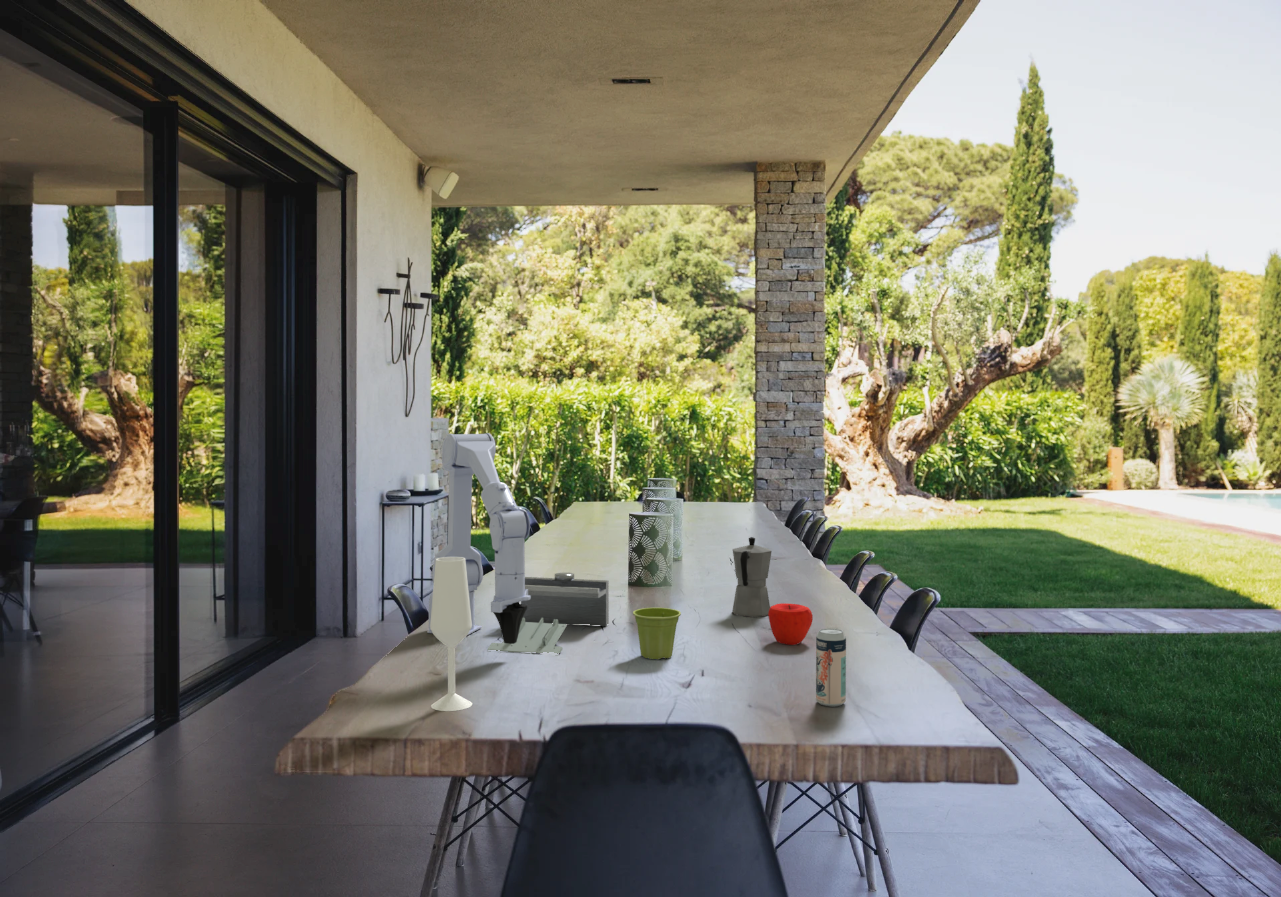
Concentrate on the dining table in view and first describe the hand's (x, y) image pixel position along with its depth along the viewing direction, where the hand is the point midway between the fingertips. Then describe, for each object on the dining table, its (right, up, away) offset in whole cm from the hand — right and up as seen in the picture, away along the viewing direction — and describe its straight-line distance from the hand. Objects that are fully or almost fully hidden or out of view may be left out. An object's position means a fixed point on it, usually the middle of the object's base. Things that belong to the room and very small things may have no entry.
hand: (510, 642), depth 197 cm
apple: (+56, -3, +14) cm, 58 cm away
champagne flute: (-6, -5, -30) cm, 31 cm away
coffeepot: (+51, -2, +43) cm, 67 cm away
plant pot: (+28, -3, +2) cm, 29 cm away
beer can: (+56, -5, -30) cm, 64 cm away
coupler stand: (+7, -2, +29) cm, 30 cm away
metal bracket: (+3, -3, +11) cm, 12 cm away
